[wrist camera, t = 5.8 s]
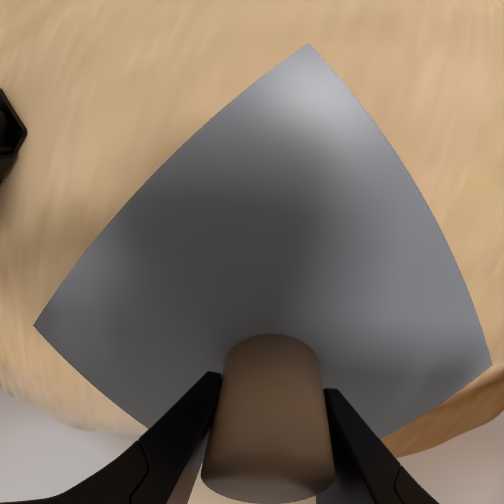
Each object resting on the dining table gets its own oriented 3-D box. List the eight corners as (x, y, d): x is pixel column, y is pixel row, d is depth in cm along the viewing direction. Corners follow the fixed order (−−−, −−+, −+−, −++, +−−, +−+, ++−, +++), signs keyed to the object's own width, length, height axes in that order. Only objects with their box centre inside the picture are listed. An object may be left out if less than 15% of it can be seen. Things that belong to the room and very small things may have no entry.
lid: (43, 315, 10) (-27, 387, 6) (304, 52, 7) (342, -46, 2) (251, 475, 13) (244, 550, 9) (483, 353, 9) (536, 431, 5)
